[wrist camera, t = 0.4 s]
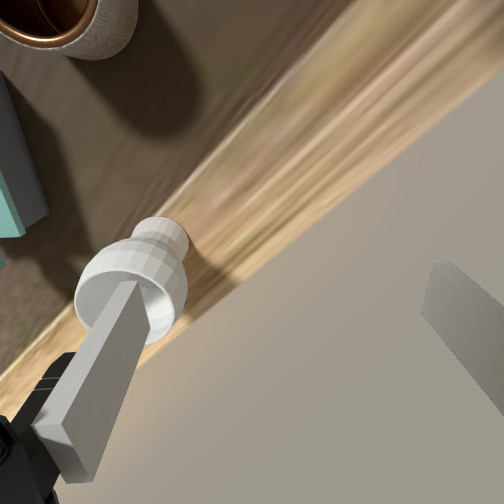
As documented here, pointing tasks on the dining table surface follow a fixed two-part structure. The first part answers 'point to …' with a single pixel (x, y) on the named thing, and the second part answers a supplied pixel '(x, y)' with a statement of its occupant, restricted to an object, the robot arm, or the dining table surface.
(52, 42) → the planter
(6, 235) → the lid
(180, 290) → the cup
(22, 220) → the tub
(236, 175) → the dining table surface
